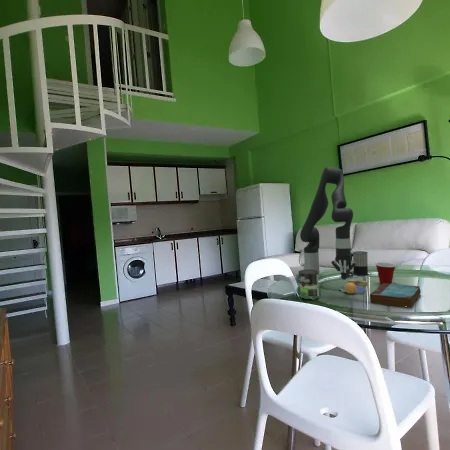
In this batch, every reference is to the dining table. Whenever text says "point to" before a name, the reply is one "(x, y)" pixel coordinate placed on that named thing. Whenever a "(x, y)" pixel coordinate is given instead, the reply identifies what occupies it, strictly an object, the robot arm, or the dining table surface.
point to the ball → (350, 288)
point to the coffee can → (309, 282)
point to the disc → (357, 290)
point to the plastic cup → (385, 272)
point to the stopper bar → (358, 282)
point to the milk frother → (359, 264)
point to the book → (395, 294)
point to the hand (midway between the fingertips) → (344, 279)
